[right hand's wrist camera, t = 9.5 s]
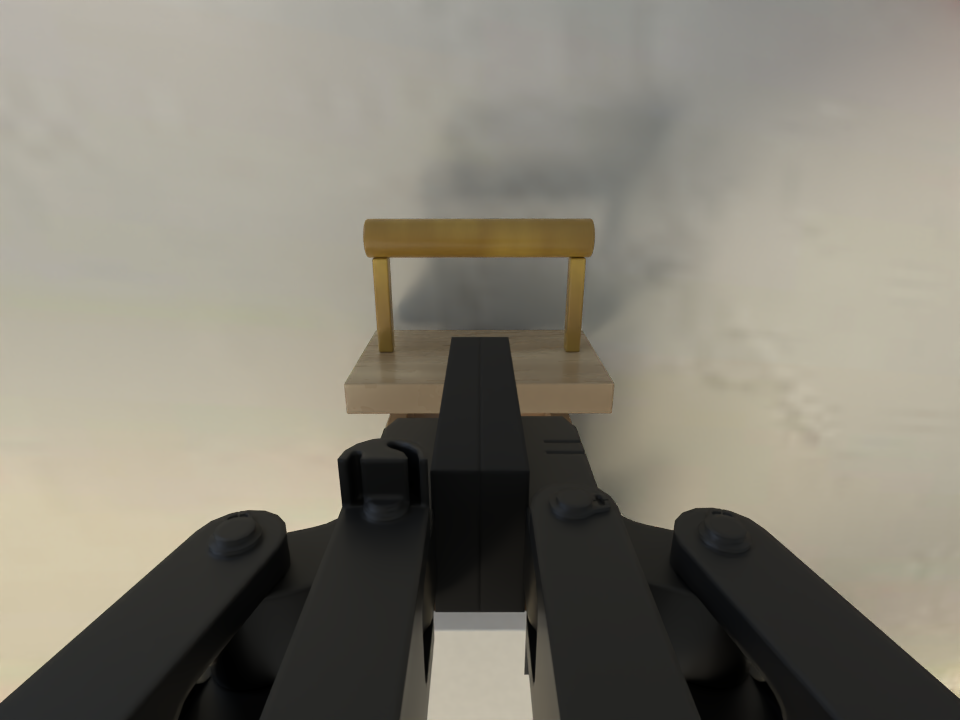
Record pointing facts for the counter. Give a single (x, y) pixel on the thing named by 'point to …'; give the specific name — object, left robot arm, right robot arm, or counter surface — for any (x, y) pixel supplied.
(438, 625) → the cabinet
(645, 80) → the counter surface
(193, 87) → the counter surface
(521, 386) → the drawer
